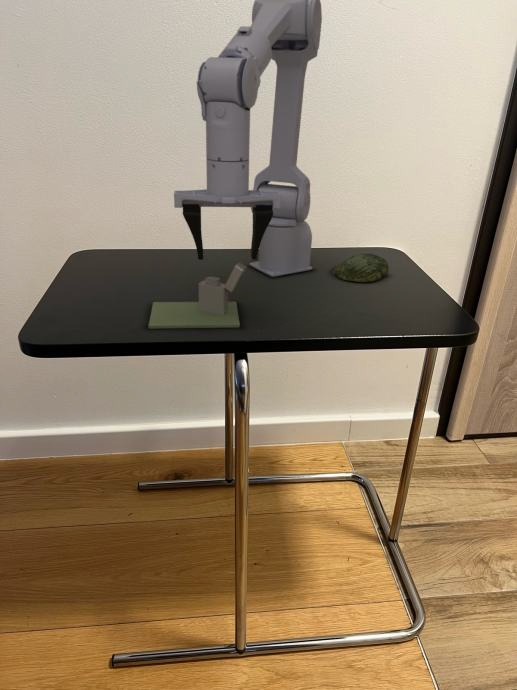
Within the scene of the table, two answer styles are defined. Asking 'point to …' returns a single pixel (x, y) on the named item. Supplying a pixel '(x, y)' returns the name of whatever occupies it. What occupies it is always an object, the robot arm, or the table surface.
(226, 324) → the mat
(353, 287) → the table surface
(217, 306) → the lighter
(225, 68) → the robot arm
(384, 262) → the green rounded dome
